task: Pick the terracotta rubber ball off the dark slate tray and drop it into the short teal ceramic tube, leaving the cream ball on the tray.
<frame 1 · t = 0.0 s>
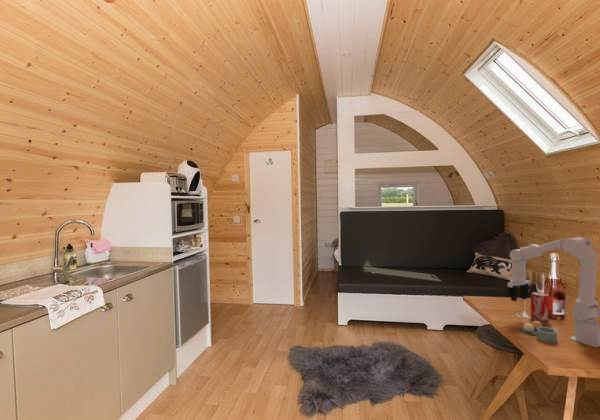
hand: (518, 299, 165), 10 cm above the table, fingers open, 7 cm apart
teal tube: (546, 339, 141), on the table
ball cream: (528, 331, 149), resting on slate tray
slate tray: (532, 331, 150), on the table
ball terracotta: (536, 329, 152), resting on slate tray
soda can: (539, 319, 165), on the table
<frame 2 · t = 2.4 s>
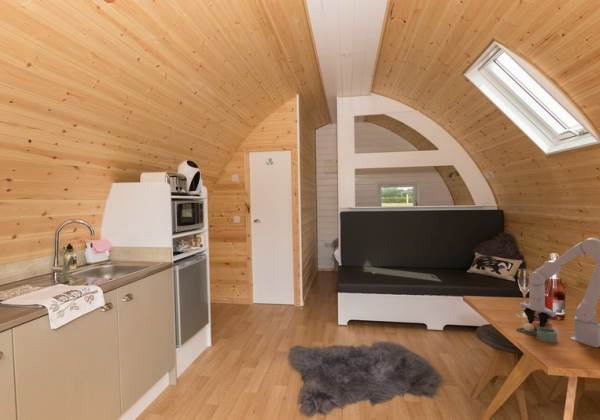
hand: (536, 326, 152), 2 cm above the table, fingers closed on ball terracotta, 4 cm apart
ball terracotta: (536, 329, 152), resting on slate tray, touching gripper
everything else where it was.
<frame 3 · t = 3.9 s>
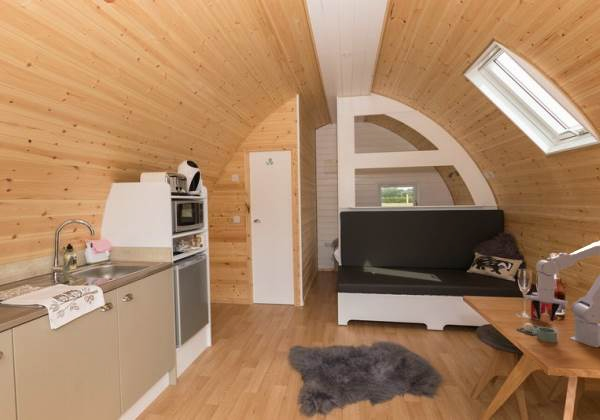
hand: (545, 319, 142), 8 cm above the table, fingers closed on ball terracotta, 4 cm apart
ball terracotta: (545, 322, 142), point 7 cm above the table, touching gripper
everything else where it was.
when the fingers open (6 cm above the table, at t = 5.2 s): ball terracotta drops 4 cm, resting on teal tube.
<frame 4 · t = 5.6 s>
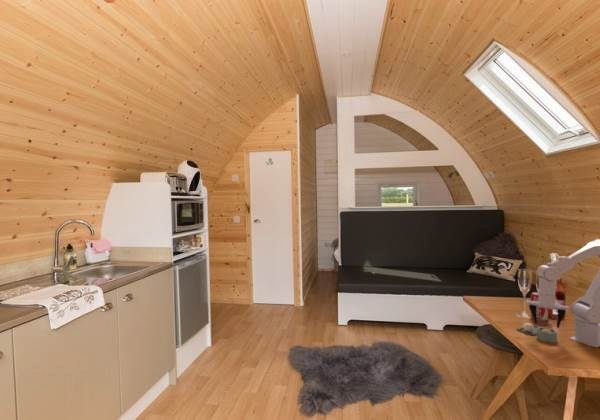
hand: (546, 324, 141), 6 cm above the table, fingers open, 7 cm apart
ball terracotta: (546, 338, 141), point 1 cm above the table, touching teal tube
everything else where it was.
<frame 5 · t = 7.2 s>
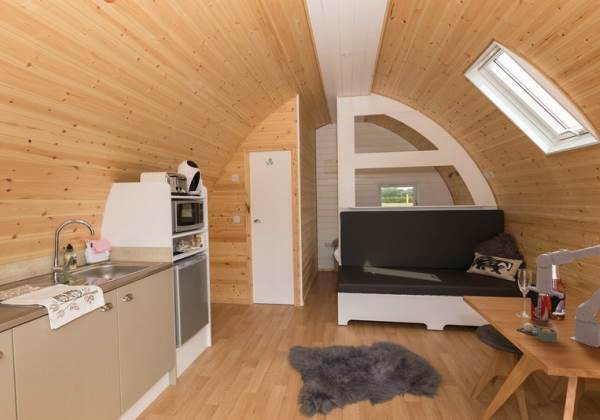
hand: (544, 309, 150), 10 cm above the table, fingers open, 7 cm apart
nothing on the table moved.
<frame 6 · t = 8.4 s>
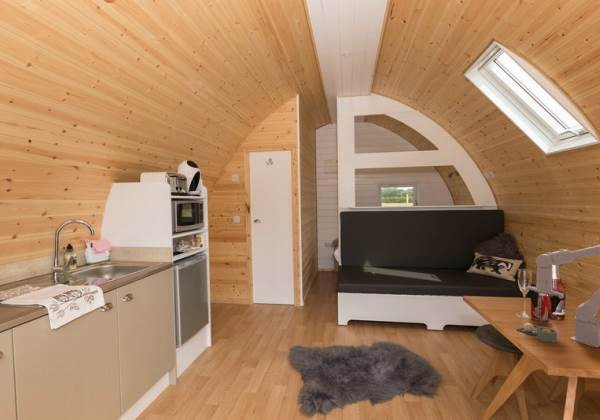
hand: (544, 309, 150), 10 cm above the table, fingers open, 7 cm apart
nothing on the table moved.
at the end: ball terracotta 0.0 cm off-centre on the teal tube, point 0.6 cm above the teal tube's base; the gripper is holding nothing; ball cream moved 0.0 cm from its start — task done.
